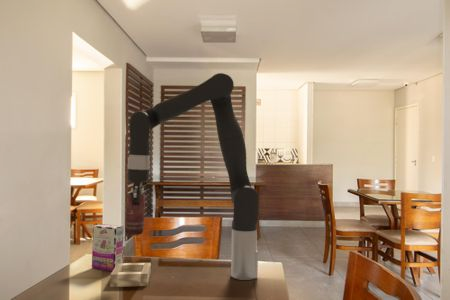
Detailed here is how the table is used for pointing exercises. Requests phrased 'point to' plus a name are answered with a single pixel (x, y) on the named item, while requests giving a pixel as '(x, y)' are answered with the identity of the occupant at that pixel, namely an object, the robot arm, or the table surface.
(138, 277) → the frame
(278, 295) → the table surface
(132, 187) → the robot arm
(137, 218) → the can
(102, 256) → the candy bar box
